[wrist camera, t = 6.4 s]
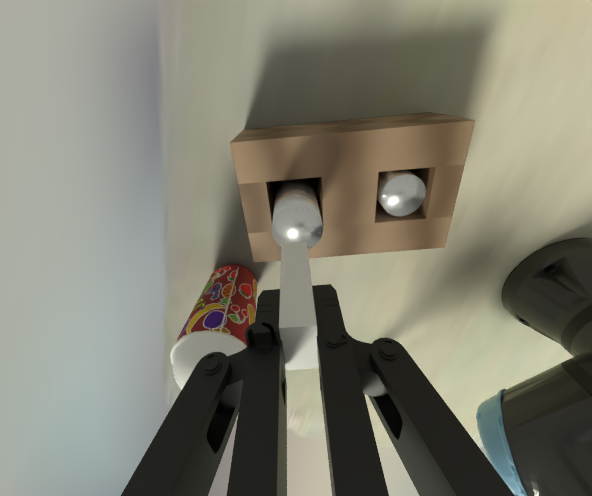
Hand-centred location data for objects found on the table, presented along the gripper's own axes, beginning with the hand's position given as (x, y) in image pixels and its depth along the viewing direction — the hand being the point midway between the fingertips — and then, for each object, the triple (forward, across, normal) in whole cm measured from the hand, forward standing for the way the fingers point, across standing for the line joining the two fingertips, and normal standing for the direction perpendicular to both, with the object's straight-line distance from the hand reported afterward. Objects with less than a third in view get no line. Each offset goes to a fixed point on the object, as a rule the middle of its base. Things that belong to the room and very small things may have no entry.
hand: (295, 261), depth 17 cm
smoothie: (+18, +10, +14) cm, 25 cm away
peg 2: (+18, -10, 0) cm, 20 cm away
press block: (+18, -5, 0) cm, 18 cm away
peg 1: (+13, 0, 0) cm, 13 cm away
